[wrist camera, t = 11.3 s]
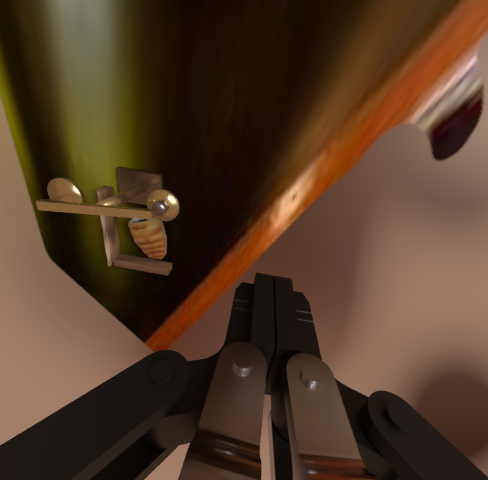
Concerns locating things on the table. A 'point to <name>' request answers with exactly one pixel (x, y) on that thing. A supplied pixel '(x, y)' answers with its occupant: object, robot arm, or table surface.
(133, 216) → the balance
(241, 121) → the table surface
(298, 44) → the table surface
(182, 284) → the table surface
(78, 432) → the robot arm
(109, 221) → the rail
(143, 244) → the pastry
